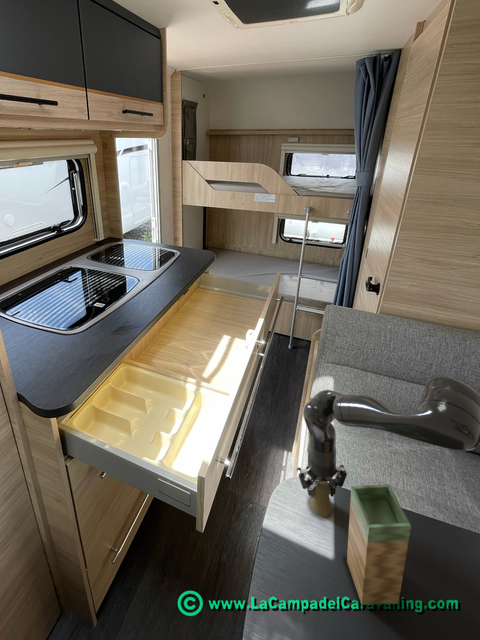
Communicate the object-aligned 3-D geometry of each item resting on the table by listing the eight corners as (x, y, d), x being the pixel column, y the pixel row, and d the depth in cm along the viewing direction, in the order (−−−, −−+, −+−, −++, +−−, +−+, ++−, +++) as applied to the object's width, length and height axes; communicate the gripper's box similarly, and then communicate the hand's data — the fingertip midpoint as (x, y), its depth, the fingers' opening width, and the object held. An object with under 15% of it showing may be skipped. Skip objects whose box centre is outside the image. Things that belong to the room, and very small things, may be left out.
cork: (335, 515, 97) (336, 491, 93) (316, 521, 96) (316, 496, 92) (324, 495, 102) (325, 471, 99) (306, 500, 102) (306, 476, 98)
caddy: (379, 561, 86) (389, 484, 75) (398, 605, 78) (411, 525, 67) (346, 562, 86) (351, 486, 76) (361, 606, 78) (368, 527, 68)
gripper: (299, 468, 88) (300, 508, 94) (353, 464, 87) (350, 506, 93) (292, 443, 95) (293, 482, 101) (342, 440, 94) (340, 480, 100)
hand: (321, 493), depth 97 cm, fingers closed on cork, 5 cm apart
